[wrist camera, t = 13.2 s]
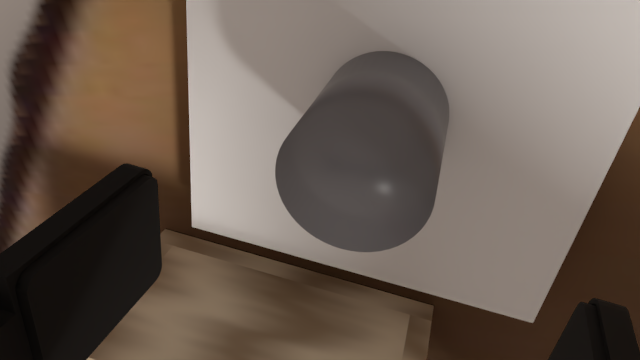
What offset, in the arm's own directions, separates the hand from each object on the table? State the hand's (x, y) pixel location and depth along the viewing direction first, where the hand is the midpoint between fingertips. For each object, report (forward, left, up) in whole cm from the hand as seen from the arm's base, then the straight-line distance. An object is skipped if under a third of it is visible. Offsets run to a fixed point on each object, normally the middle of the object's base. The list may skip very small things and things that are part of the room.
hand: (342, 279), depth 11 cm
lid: (+1, 0, -9) cm, 9 cm away
